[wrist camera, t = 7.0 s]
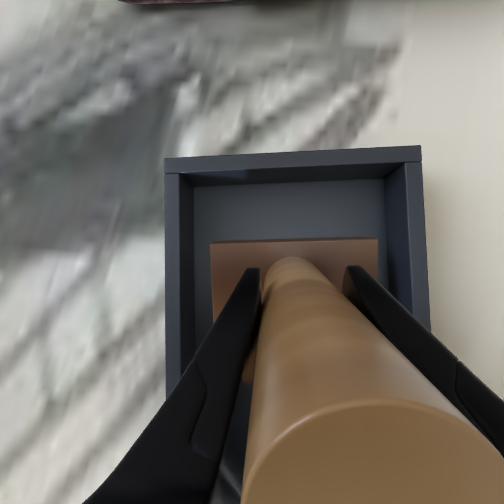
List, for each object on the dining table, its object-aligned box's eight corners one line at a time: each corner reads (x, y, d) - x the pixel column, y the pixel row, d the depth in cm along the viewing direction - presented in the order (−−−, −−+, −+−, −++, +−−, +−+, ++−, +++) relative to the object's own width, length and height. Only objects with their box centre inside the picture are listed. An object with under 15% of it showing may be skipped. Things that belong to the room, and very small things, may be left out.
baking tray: (409, 480, 15) (442, 532, 12) (185, 472, 16) (165, 520, 13) (393, 167, 16) (421, 144, 13) (182, 176, 17) (163, 157, 14)
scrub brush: (356, 306, 15) (805, 748, 2) (224, 308, 16) (23, 678, 3) (357, 235, 15) (904, 317, 2) (220, 239, 15) (-28, 325, 3)
